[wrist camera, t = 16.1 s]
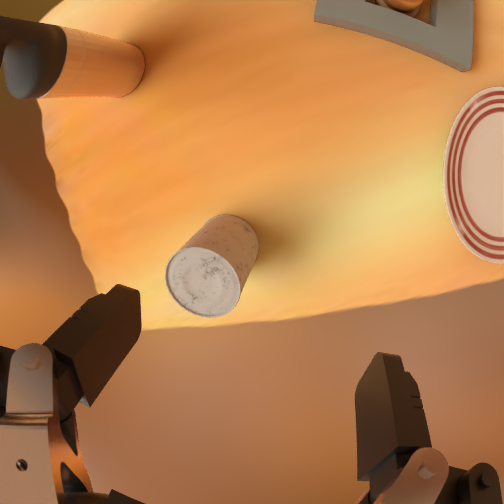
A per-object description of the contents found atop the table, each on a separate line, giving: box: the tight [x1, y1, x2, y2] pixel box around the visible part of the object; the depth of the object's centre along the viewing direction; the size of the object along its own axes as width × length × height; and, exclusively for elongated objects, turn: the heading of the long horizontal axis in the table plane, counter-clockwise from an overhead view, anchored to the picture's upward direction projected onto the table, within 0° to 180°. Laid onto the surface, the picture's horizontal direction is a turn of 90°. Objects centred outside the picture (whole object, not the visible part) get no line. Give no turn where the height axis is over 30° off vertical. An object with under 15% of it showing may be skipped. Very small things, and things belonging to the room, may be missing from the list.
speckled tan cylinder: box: [165, 215, 259, 318], centre depth 41 cm, size 10×10×12 cm
